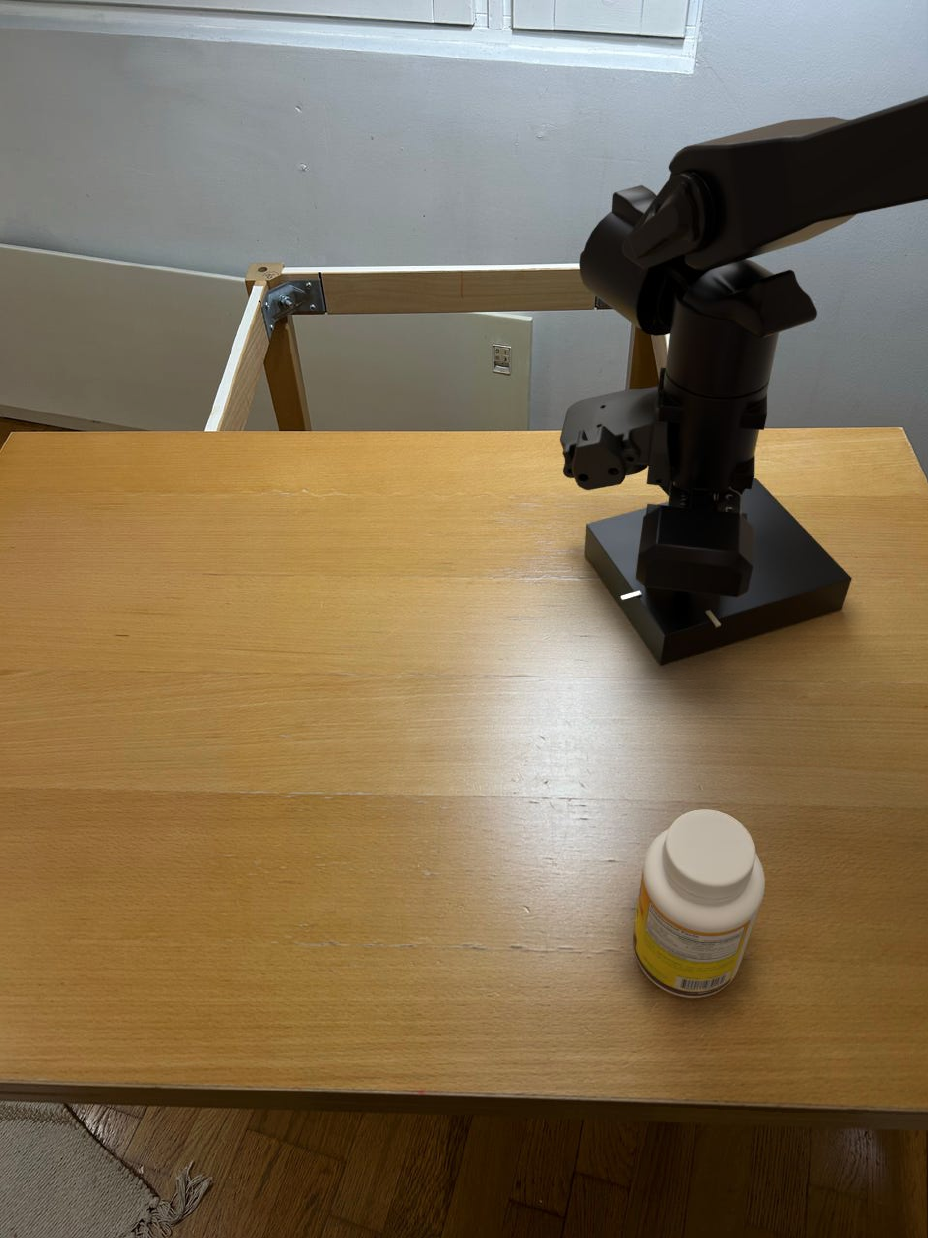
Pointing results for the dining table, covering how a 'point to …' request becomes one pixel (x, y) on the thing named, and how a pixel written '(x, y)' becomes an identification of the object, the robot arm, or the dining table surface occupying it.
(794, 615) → the console
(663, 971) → the supplement bottle
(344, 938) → the dining table surface
